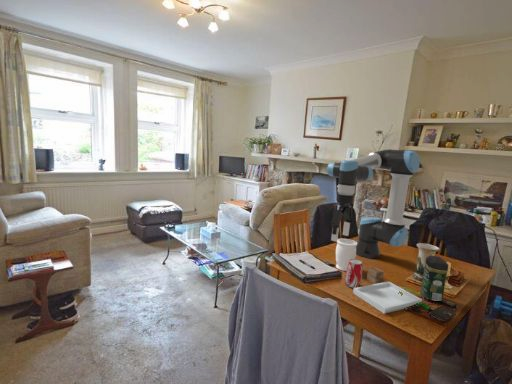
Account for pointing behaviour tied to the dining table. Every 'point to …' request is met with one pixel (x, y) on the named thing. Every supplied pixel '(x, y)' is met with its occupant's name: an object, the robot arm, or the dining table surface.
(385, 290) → the tray
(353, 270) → the soda can
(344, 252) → the jar
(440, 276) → the coffee jar
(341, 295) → the dining table surface
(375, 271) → the walnut block
